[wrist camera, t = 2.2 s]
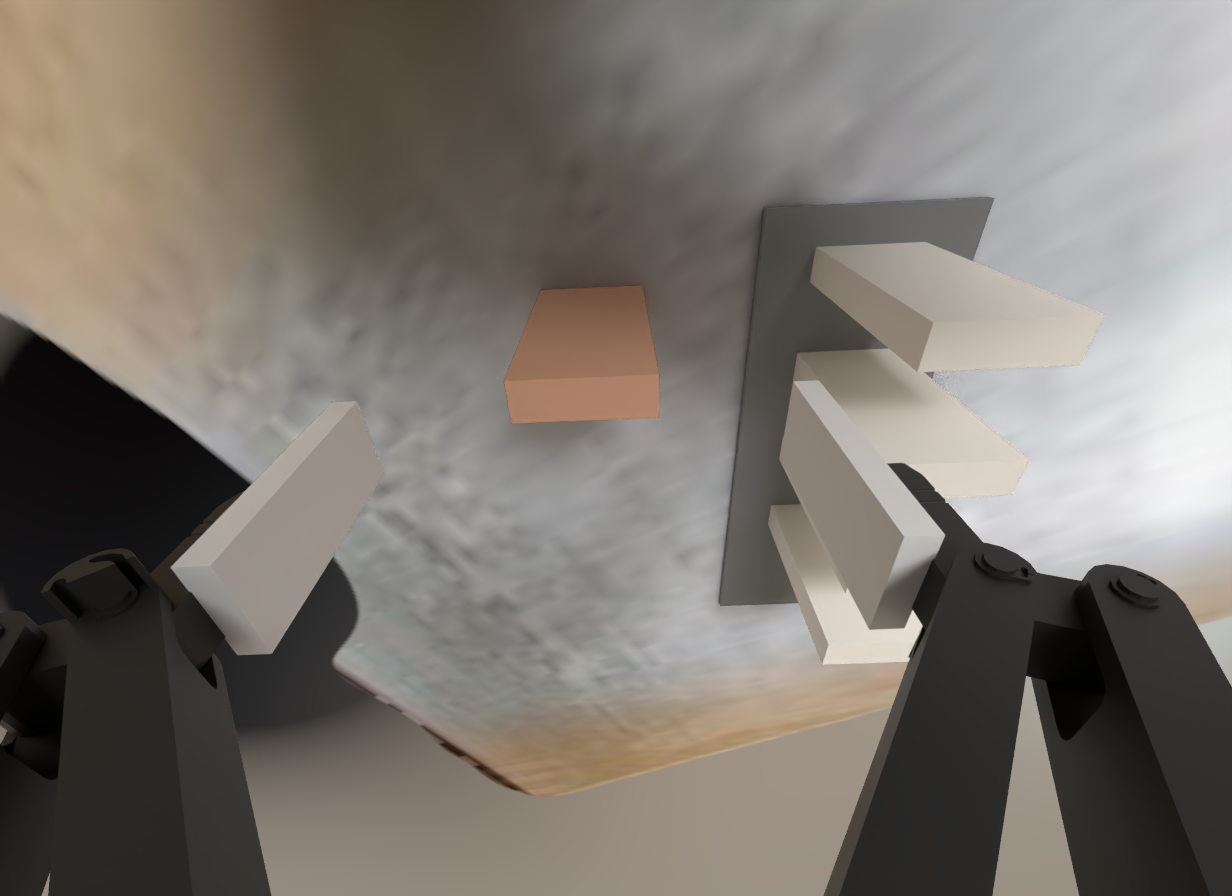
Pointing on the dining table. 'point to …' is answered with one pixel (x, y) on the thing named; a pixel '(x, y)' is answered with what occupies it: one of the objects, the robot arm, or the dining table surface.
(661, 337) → the dining table surface
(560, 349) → the end domino
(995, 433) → the domino
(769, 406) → the mat
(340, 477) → the robot arm
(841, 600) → the domino
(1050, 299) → the domino
